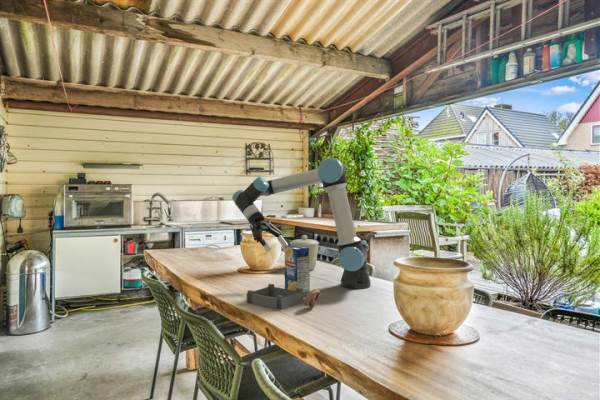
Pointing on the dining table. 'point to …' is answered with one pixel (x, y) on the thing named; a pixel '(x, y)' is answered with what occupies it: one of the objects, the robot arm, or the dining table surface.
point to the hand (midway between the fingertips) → (278, 248)
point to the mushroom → (311, 298)
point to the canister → (309, 244)
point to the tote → (283, 296)
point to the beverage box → (297, 268)
